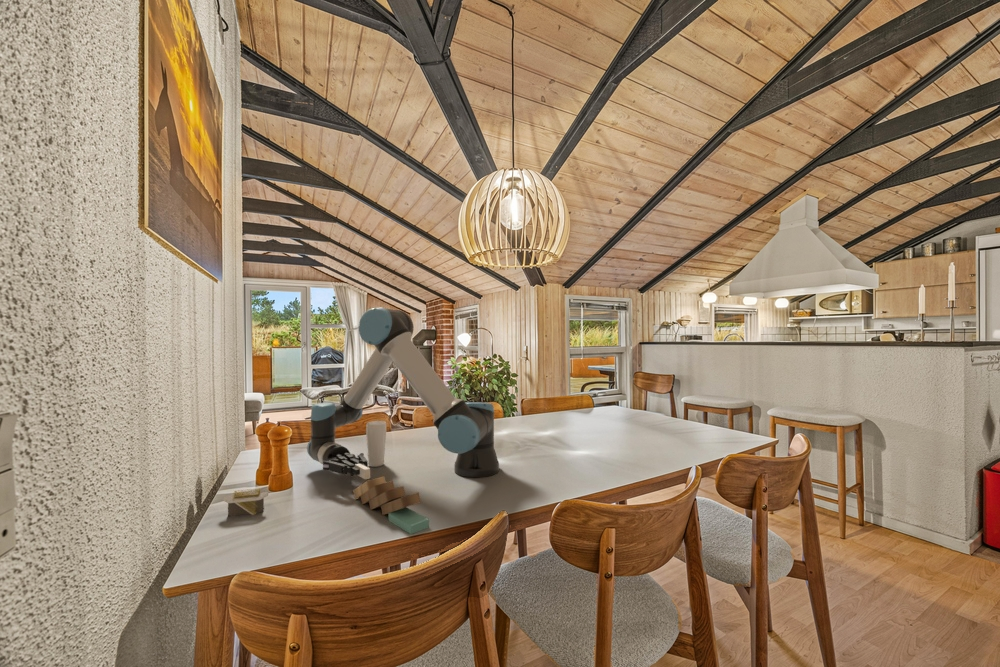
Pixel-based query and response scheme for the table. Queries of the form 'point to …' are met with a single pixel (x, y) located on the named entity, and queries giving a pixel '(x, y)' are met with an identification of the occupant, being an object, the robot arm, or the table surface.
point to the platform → (245, 502)
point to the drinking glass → (376, 442)
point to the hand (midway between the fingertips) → (367, 474)
